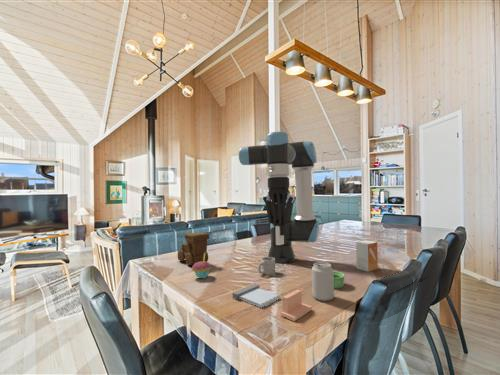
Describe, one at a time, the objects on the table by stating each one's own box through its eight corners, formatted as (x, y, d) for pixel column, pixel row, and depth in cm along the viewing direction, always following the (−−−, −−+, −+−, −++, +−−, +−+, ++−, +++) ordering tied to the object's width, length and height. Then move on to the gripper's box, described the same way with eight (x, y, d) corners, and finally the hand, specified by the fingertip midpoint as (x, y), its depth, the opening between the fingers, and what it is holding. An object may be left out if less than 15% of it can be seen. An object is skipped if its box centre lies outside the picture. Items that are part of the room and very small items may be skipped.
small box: (368, 272, 117) (367, 244, 118) (356, 268, 123) (355, 242, 123) (378, 268, 122) (377, 241, 122) (366, 265, 127) (365, 240, 127)
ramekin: (342, 290, 97) (341, 279, 97) (318, 286, 101) (318, 275, 101) (346, 283, 104) (346, 272, 104) (325, 279, 109) (324, 269, 109)
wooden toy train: (211, 264, 136) (210, 233, 136) (191, 268, 129) (191, 236, 129) (194, 257, 151) (193, 229, 152) (175, 260, 144) (175, 231, 144)
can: (309, 294, 94) (308, 261, 94) (329, 292, 95) (328, 260, 95) (316, 302, 87) (315, 267, 87) (337, 301, 87) (336, 266, 88)
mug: (267, 269, 125) (267, 256, 125) (278, 272, 120) (277, 258, 120) (253, 274, 118) (253, 260, 118) (264, 277, 113) (263, 263, 113)
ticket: (232, 298, 92) (232, 292, 92) (255, 288, 100) (254, 283, 100) (259, 309, 83) (259, 303, 83) (281, 297, 91) (281, 292, 91)
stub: (280, 315, 78) (280, 297, 78) (298, 304, 85) (298, 288, 85) (294, 321, 74) (294, 302, 74) (312, 309, 82) (311, 292, 82)
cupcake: (214, 275, 118) (213, 249, 118) (205, 281, 110) (204, 253, 110) (198, 273, 121) (197, 248, 121) (188, 279, 113) (188, 252, 113)
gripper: (257, 177, 90) (258, 243, 90) (287, 175, 81) (289, 249, 81) (270, 178, 96) (272, 240, 95) (300, 176, 86) (301, 245, 86)
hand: (279, 244), depth 88 cm, fingers closed
